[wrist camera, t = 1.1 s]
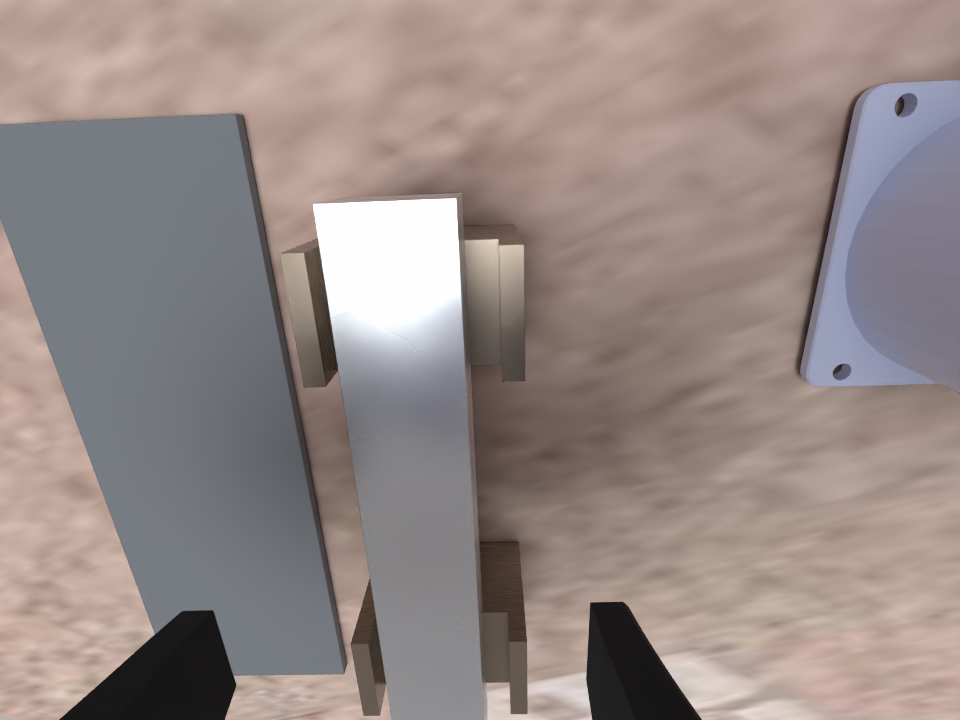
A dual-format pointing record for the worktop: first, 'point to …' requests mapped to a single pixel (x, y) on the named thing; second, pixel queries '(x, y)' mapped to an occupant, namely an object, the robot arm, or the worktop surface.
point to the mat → (178, 371)
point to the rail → (411, 439)
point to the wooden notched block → (489, 297)
